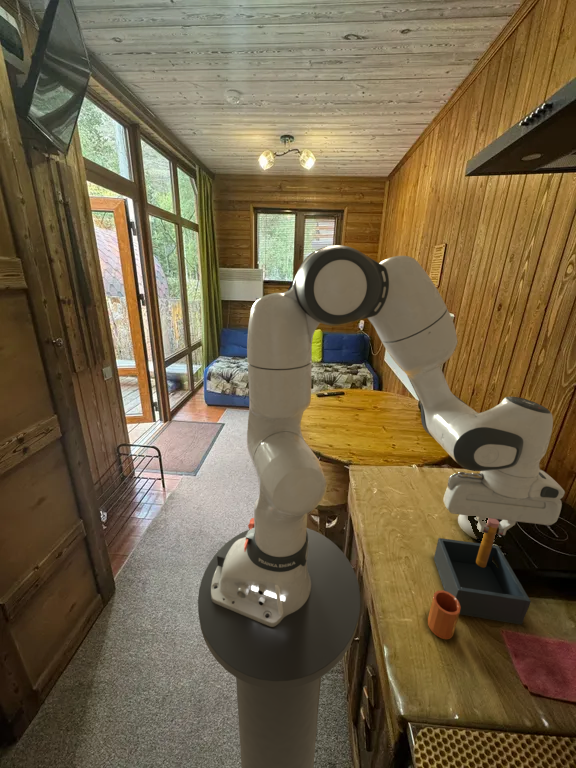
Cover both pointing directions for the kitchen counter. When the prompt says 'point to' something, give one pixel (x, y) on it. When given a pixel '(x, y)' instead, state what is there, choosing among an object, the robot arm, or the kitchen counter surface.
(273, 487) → the robot arm
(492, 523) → the pencil
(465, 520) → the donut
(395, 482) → the kitchen counter surface
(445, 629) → the pen cup
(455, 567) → the bin
